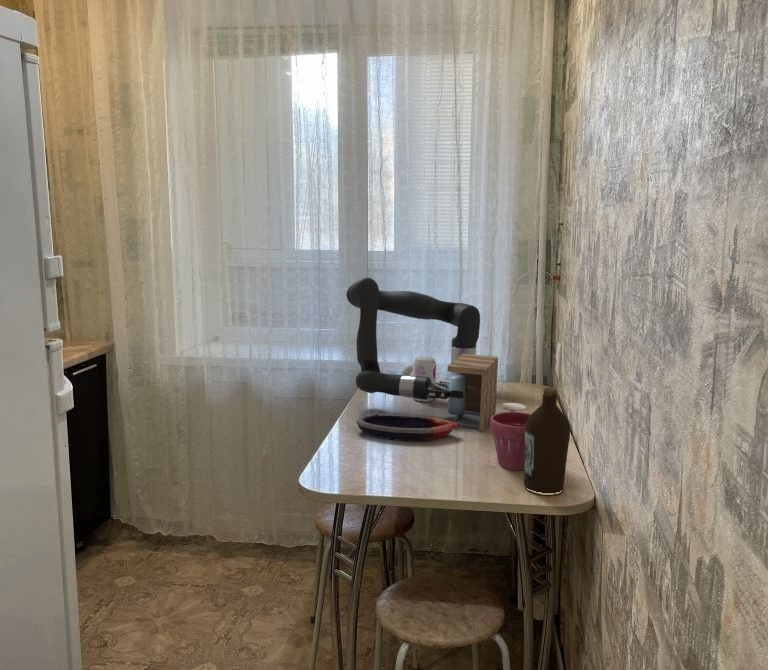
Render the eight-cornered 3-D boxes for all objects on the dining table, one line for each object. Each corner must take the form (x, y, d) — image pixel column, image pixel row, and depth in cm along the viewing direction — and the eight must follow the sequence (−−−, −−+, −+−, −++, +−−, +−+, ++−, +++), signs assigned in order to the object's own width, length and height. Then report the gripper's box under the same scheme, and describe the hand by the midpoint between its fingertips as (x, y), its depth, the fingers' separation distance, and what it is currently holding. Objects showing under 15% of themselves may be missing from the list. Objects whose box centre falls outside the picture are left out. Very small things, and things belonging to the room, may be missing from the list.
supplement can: (435, 397, 251) (436, 357, 249) (434, 403, 243) (436, 361, 241) (412, 395, 252) (414, 356, 249) (411, 401, 244) (412, 360, 241)
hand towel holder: (499, 421, 210) (485, 402, 230) (498, 434, 210) (484, 415, 231) (553, 421, 211) (534, 402, 231) (552, 434, 212) (534, 415, 232)
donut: (427, 388, 264) (428, 362, 262) (425, 390, 260) (426, 364, 259) (401, 386, 266) (402, 361, 264) (399, 388, 263) (400, 362, 261)
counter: (460, 410, 235) (462, 353, 231) (495, 414, 231) (498, 356, 227) (445, 427, 215) (447, 365, 212) (482, 432, 211) (486, 369, 208)
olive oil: (559, 480, 173) (566, 384, 169) (570, 497, 163) (578, 396, 159) (517, 479, 173) (523, 383, 169) (526, 496, 163) (532, 394, 159)
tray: (461, 414, 230) (461, 410, 230) (488, 417, 227) (488, 413, 227) (451, 425, 217) (451, 422, 217) (479, 429, 214) (479, 425, 214)
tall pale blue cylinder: (450, 409, 227) (451, 374, 225) (466, 411, 225) (468, 375, 223) (445, 413, 221) (447, 377, 219) (462, 416, 220) (464, 379, 217)
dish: (360, 424, 217) (361, 409, 216) (458, 431, 213) (458, 415, 212) (351, 439, 202) (351, 423, 201) (455, 447, 197) (456, 430, 197)
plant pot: (478, 464, 183) (480, 418, 181) (505, 451, 194) (507, 408, 192) (525, 478, 174) (528, 430, 172) (551, 464, 185) (554, 418, 183)
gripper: (409, 380, 219) (460, 386, 214) (421, 371, 233) (470, 376, 227) (408, 403, 220) (459, 409, 215) (420, 393, 234) (469, 398, 228)
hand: (465, 392), depth 221 cm, fingers closed on tall pale blue cylinder, 5 cm apart
